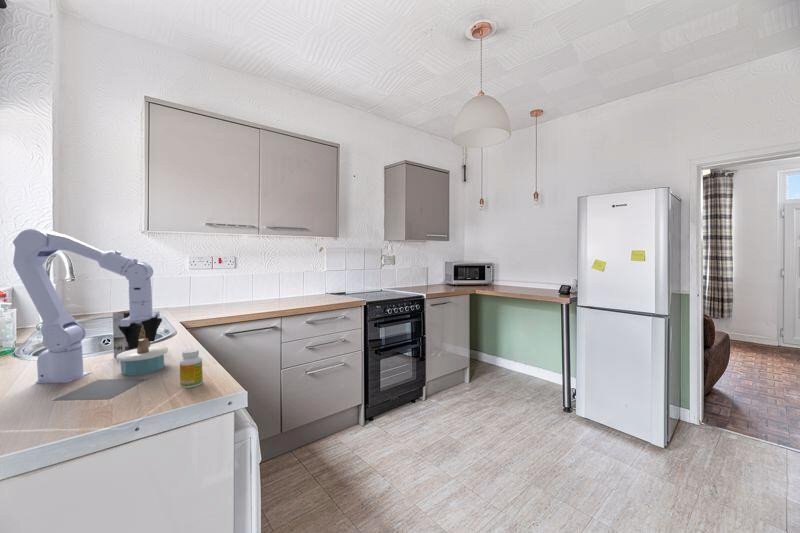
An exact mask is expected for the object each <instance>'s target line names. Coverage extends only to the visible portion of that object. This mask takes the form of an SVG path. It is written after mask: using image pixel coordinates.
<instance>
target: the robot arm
mask: <svg viewBox="0 0 800 533" xmlns="http://www.w3.org/2000/svg"><path fill="white" fill-rule="evenodd" d="M12 243H13V245H14V255H13V260H12V261H13V262H12V263H13V267H14V269H15V270H16V273H17V275H18V276H19V278H20V281H21V282H22V284H23V287H25V290H26V292H27V293H28V295H29V297H30V299H31V301H32V303H33V304H34V307H35V309H36V310H37V313H38V314H39V316H40V318H41V321H42V324H41V328H40V331H41V334H42V344H43V346H44V348H46V349H44V350H43V351H42V352H40V354H39V355H38V357H37V361H36V364H37V365H36V366H37V367H36V368H37V380H36V381H34V382H35V384H42V383H43V384H45V383H46V384H48V383H49V384H50V383H52V384H53V383H70V382H73V381H75V380H77V379H80V378H82V377H85V376H87V375H90V374H92V371H84V362H83V361H84V358H83V344H82V341H83V340H84V339H85V337H86V329H85V328H84V326H82V325H81V324H79V323H78V322H77V320H76V318H75V317H73V316H72V315H70V314H68V312H67V310H66V308H65V306H64V304H63V302H62V301H61V299H60V296H59V294H58V292H57V291H56V288H55V286H54V285H53V284H54V283H52V280H51V278H50V276H49V275H48V272H47V271H46V269H45V267H44V264H45V263H46V261H47V259H49V257H51V256H52V255H54V254H55V253H56V252H58V251H69V252H71V253H74V254H76V255H78V256H81V257H85V258H88V259H90V260H93V261H96V262H97V263H98V266H99V267H100V268H101V269H104V270H107V271H110V272H112V273H114V274H117V275H120V276H122V277H125V279H126V280H128V298H129V299H128V304H129V307H128V308H129V310H130V316H129V317H127V318H125V319H122V320H121V325H120V326H119V329H120V330H121V332H122V333H123V334H124V336H125V338H126V340H127V342H128V345H129V348H137V347H138V344H139V334H140V330H141V328H142V325H137V324H136V325H135V323H139V322H142V324H143V326H144V330H145V336H146V338H147V339H148V340H149V341H150V342H155V340H156V336H157V332H158V329H159V327H160V325H161V323H162V322H163V318H161V317H160V313H161V312H160V311H159V310H158V311H155V310H154V311H153V294H152V293H153V292H152V277H153V274H154V269H153V267H152V266H151V265H150V264H148V263H147V262H144V261H143V262H138V261H139V260H138V259H137V258H131V257H128V256H126V255H123V254H122V252H121V251H120V250H108V251H103V250H100V249H98V248H95V246H91V245H89V244H87V243H85V242H83V241H80V240H78V239H76V238H74V237H71V236H69V235H66V234H63V233H58V232H56V231H54V230H41V229H39V230H38V229H34V228H29V229H28V228H27V229H24V230H21V232H19V233H18V235H17V236H16V237H15V238H14V239H13V240H12Z"/></svg>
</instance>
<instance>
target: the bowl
mask: <svg viewBox="0 0 800 533" xmlns="http://www.w3.org/2000/svg"><path fill="white" fill-rule="evenodd" d="M164 367H165V354H164V355H161V356H158V357H155V358H151V359H145V360H138V361H120V373H121V374H122V375H123V376H141V375H147V374H150V373H154V372H157V371H160V370H163V368H164Z"/></svg>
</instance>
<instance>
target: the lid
mask: <svg viewBox="0 0 800 533" xmlns="http://www.w3.org/2000/svg"><path fill="white" fill-rule="evenodd" d="M168 352H169V348H168V347H166V346H150V347H149V340H148V339H147V338H145V339H139V344H138V347H137V349H133V350H129V351H125V352H122V353H120V354H118V355H117V356H116V357H115V358H116V360H117V361H119V362H121V361H138V360H145V359H151V358H155V357H158V356H161V355H164V356H165V355H166V354H167V353H168Z"/></svg>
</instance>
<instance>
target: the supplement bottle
mask: <svg viewBox="0 0 800 533" xmlns="http://www.w3.org/2000/svg"><path fill="white" fill-rule="evenodd" d="M199 355H200V350H199V349H198V348H189V349H185V350H183V351H182V352H181V357H182V358H181V359H180V360H179V383H180V387H182V388H184V389H189V388H190V389H191V388H196V387H198V386H200V385H202V384H203V379H204V378H203V376H204V375H203V358H202V357H201V356H199Z"/></svg>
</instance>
